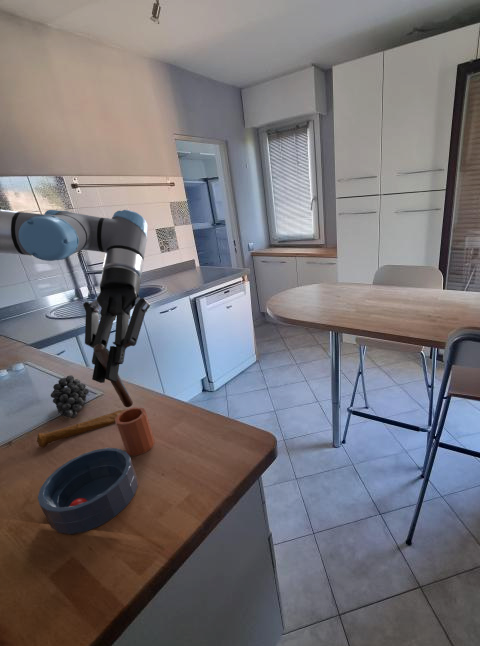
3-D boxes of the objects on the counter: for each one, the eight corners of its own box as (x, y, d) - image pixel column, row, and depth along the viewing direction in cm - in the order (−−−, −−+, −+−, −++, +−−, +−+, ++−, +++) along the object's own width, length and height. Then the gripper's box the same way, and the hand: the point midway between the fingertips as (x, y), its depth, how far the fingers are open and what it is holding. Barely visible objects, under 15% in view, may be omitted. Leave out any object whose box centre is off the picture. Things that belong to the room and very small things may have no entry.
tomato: (64, 505, 59) (64, 517, 57) (78, 491, 60) (78, 502, 58) (78, 511, 61) (79, 523, 58) (92, 498, 62) (93, 509, 59)
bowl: (30, 531, 58) (16, 506, 55) (91, 467, 71) (82, 445, 69) (103, 541, 55) (92, 515, 53) (153, 473, 68) (146, 450, 66)
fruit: (68, 392, 83) (74, 366, 95) (35, 411, 81) (45, 382, 93) (91, 415, 87) (94, 388, 100) (60, 433, 85) (67, 403, 98)
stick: (123, 409, 71) (89, 348, 62) (127, 403, 73) (94, 342, 63) (131, 408, 71) (99, 347, 62) (135, 402, 73) (103, 342, 63)
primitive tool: (126, 410, 90) (122, 399, 88) (130, 419, 86) (127, 408, 84) (40, 443, 80) (34, 431, 78) (40, 456, 75) (34, 444, 74)
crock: (120, 456, 73) (108, 423, 70) (137, 438, 79) (126, 406, 75) (144, 458, 72) (133, 425, 69) (160, 439, 78) (150, 407, 74)
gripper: (163, 281, 76) (151, 382, 67) (99, 286, 76) (79, 387, 68) (147, 262, 69) (132, 373, 60) (77, 268, 69) (52, 378, 61)
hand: (104, 380), depth 64 cm, fingers closed on stick, 2 cm apart
